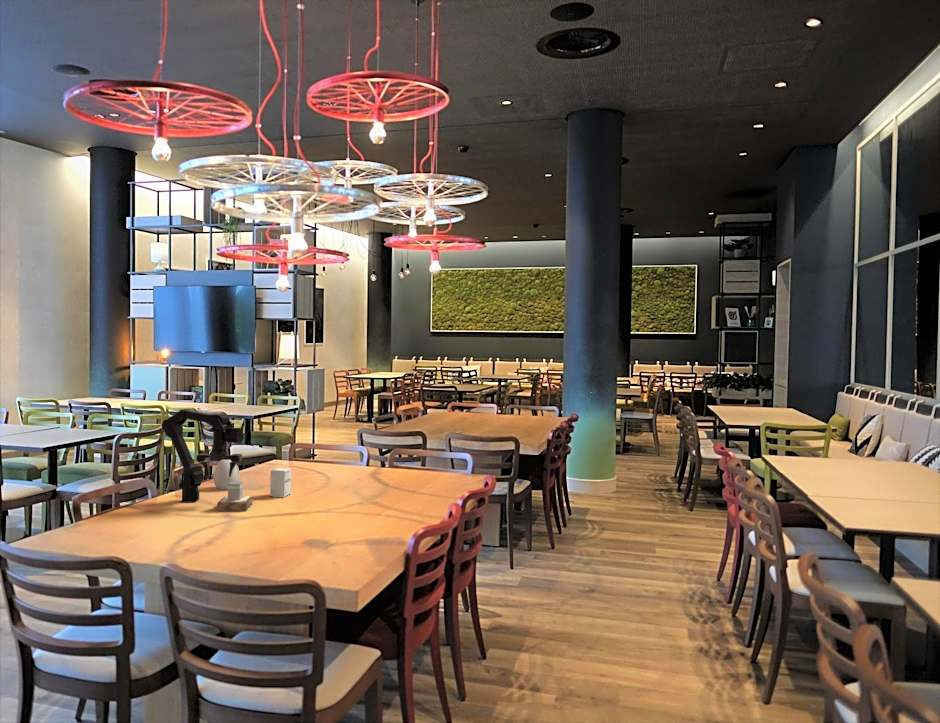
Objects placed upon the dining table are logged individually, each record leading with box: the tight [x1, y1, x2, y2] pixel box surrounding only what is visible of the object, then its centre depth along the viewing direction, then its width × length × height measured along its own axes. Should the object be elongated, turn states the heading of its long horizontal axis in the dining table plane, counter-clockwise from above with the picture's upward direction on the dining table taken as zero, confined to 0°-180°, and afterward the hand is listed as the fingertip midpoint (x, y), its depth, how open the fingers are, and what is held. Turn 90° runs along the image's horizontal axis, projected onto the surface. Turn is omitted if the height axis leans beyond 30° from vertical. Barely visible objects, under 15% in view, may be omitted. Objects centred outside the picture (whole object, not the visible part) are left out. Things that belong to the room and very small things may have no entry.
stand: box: [216, 495, 253, 512], centre depth 305 cm, size 12×12×4 cm
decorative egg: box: [212, 460, 241, 491], centre depth 345 cm, size 12×12×15 cm
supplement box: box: [269, 467, 292, 498], centre depth 331 cm, size 7×7×13 cm
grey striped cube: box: [227, 481, 244, 500], centre depth 305 cm, size 5×5×7 cm
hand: (219, 476), depth 312 cm, fingers open, 9 cm apart
